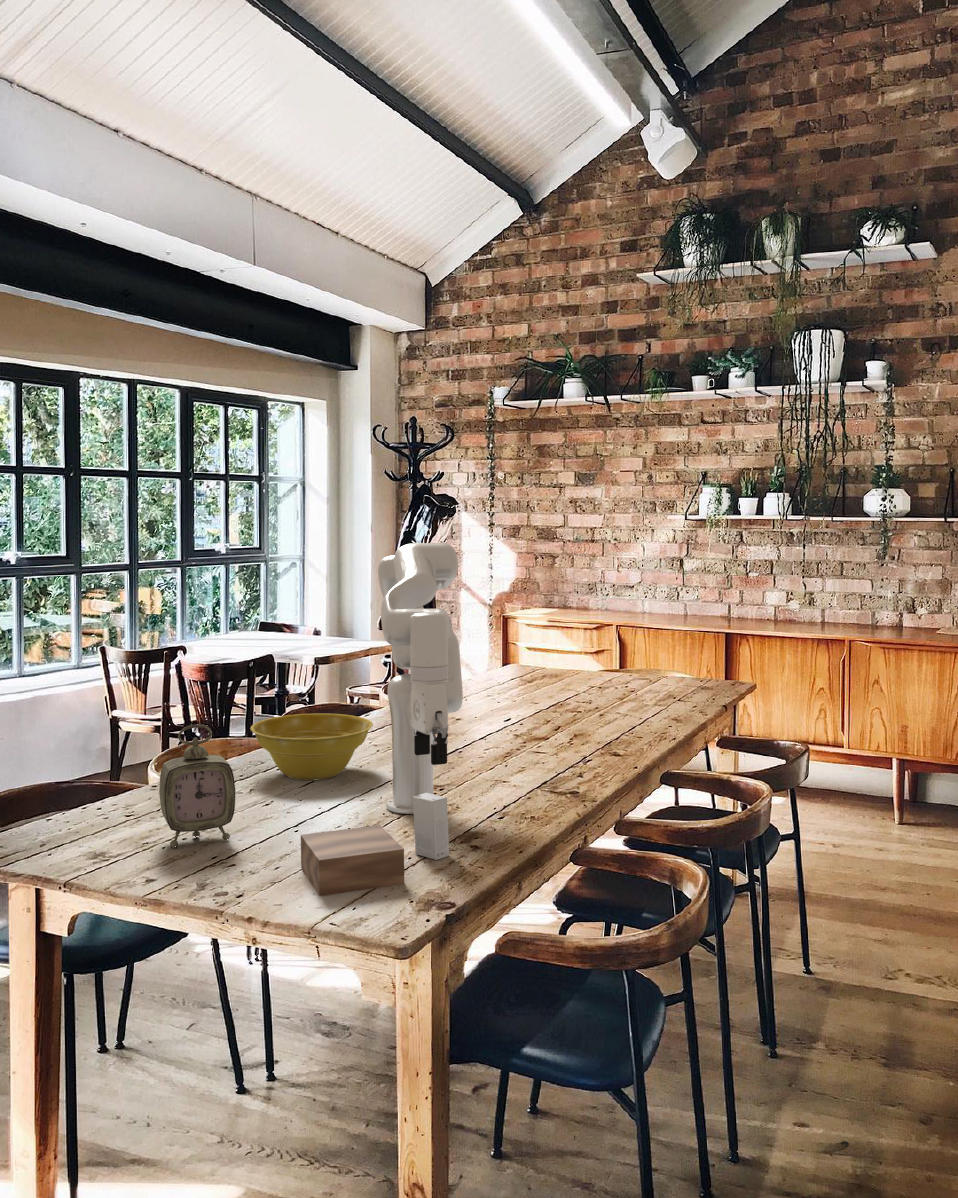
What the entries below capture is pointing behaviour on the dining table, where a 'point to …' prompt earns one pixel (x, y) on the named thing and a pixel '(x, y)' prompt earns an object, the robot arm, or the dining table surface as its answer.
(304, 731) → the planter bowl
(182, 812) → the tabletop clock
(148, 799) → the dining table surface
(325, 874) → the walnut block
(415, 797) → the skincare box
